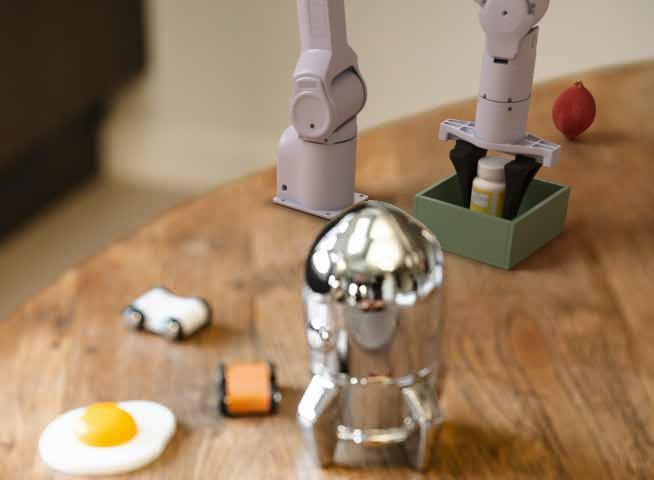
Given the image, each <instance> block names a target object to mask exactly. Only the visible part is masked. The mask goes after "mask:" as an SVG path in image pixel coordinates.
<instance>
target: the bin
mask: <svg viewBox="0 0 654 480" xmlns="http://www.w3.org/2000/svg"><path fill="white" fill-rule="evenodd" d="M571 188H572V186H570V185H566V184H563V183H559V182H555V181H553V180H547V179H544V178H540V177H537V176H535V177H534V178H533V180H532V182H531V183H530V185H529V187H528V189H527V191H526V193H525V195H524V197H523V200H522V202H521V205H520V207H519V210H518V213H517V216H516V217H515V218H513V219H512V220H510V221H509V220H506V219H502V218H499V217H495V216H492V215H488V214H485V213H481V212H478V211H474V210H471V209H467V208H464V206H463V199H462V192H461V187H460V183H459V179H458V176H457V173H456V170H455V171H453V172H452V173H450V174H448V175H447V176H445V177H443V178H442V179H440V180H438V181H436V182H434V183H433V184H431V185H429V186H428V187H426V188H424V189H423V190H421V191H419V192H418V193H416V194H414V195H413V201H412V202H413V203H412V214H411V215H412V216H411V218H412V217H414V218H415V219H417V220H418V221H420V222H421V223H423V224H424V225H425V226H426V227H427V228H428V229H430V231H431V232H432V233H433V234H434V235H435V236H436V238H437V240H438V241H439V243H440V246H441V248H442V250H441V251H444V252H448V253H450V254H454V255H457V256H460V257H464V258H467V259H469V260H472V261H473V260H474V261H477V262H480V263H483V264H486V265H490V266H493V267H496V268H499V269H502V270H505V271H510V270H511V269H512V268H514V267H515V266H516V265H518V264H519V263H521V262H522V261H524V260H525V259H526V258H528V257H529V256H531V255H533V253H534V252H536V251H538V250H539V249H540V248H542V247H543V246H545V245H546V244H548V243H549V242H551V241H552V240H553V239H554V238H556V237H557V236H559V235H560V234H562V233H563V232H564V231H565V225H566V219H567V213H568V207H569V201H570V195H571Z"/></svg>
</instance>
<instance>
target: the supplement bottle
mask: <svg viewBox="0 0 654 480" xmlns="http://www.w3.org/2000/svg"><path fill="white" fill-rule="evenodd" d="M512 160H513V159H512V158H510V157H507V156H503V155H496V154H495V155H486V156H485V157H482V158H481V159H480V160H479V161H478V168H477V174H478V175H476V176H475V178H474V180H473V184H472V195H471V205H470V209H471V210H474V211H478V212H481V213H485V214H488V215H492V216H495V217H499V218H502V219H503V209H504V202H505V194H506V182H505V172H504V165H505V164H507V163H509V162H510V161H512Z"/></svg>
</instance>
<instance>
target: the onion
mask: <svg viewBox="0 0 654 480" xmlns="http://www.w3.org/2000/svg"><path fill="white" fill-rule="evenodd" d="M596 105H597V104H596V101H595V97H594V95H593V94H592V92H591V91H590V90H589V89H588V88H587V87H585V86H584V84H583V80H581V79H577V80H575V81H574V83H573V85H571V86H569V87H567V88H566V89H564V90H563V91H562V92H561V93H560V94H559V96H558V97H556V99H555V101H554V103H553V105H552V109H551V118H552V122H553V125H554V127H555V128H556V129H557V130H558V131H559V132H560V134H562V135H563V137H564V138H565V139H567V140H574V139H575V138H576V137H578V136H580V135H581V134H583V133H585V132H586V131H587V130H588V129H590V128H591V126H592V124H593V123H594V121H595V119H596V116H597V106H596Z"/></svg>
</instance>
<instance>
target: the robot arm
mask: <svg viewBox="0 0 654 480" xmlns="http://www.w3.org/2000/svg"><path fill="white" fill-rule="evenodd" d="M550 1H551V0H473V2H474V3H475V4H477V5H478V6H479V7H480V8H478V14H477V15H478V21H479V25H480V27H481V30H482V31H483V32H484V43H483V50H482V54H481V56H482V57H481V66H480V75H479V84H478V93H477V101H476V102H477V103H476V110H475V111H476V112H475V121H470V120H469V121H468V120H461V119H460V120H459V119H455V118H447V119H446V120H444V121H442V122H440V123H439V132H438V140H439V141H443V142H449V141H453V142H455V144H454V146H453V148H452V149H450V150H449V155H448V157H449V160H450V161H451V163H452V165H453V167H454V170H455V171H456V173H457V176H458V179H459V183H460V187H461V192H462V199H463V206H464V208H467V209H470V205H471V195H472V184H473V180H474V178H475V176H476V175H478V174H477V168H478V161H479V160H480V159H481V158H482V157H485V156H487V154H488V151H492V152H497V153H500V154H504V155H508V156H512V157H514V159H511V160H512V161H510V162H509V163H507V164H505V165H504V172H505V182H506V194H505V202H504V209H503V219H506V220H509V221H510V220H512V219H513V218H515V217H516V216H517V213H518V210H519V207H520V205H521V202H522V200H523V197H524V195H525V193H526V191H527V189H528V187H529V185H530V183H531V182H532V180H533V178H534V177H536V175H537V173H538V172H539V171H540V169H541V168H542V166H543V167H544V168H549V169H551V168H552V167H555V166H556V165H557V164H559V163H560V159H561V152H562V145H560V144H556V143H553V142H550V141H549V140H547V139H543V138H541V137H539V136H537V135H534V134H533V133H530V132H529V131H527V127H528V119H529V111H530V103H531V97H532V90H533V82H534V75H535V68H536V60H537V46H538V38H539V31H540V26H539V25H537V24H538V23H539V22H540V21H542V19H543V17H544V16H545V15H546V13H547V11H548V9H549V6H550ZM295 3H296V11H297V20H298V21H297V22H298V32H299V41H300V51H301V52H300V55H299V58H298V60H297V63H296V66H295V68H294V70H293V73H292V77H291V78H292V94H291V96H290V100H289V104H288V117H289V121H290V123H291V124H290V125H289V126H288V127H287V128H286V129H284V131H283V132H282V134H281V136H280V139H279V142H278V145H277V150H276V151H277V152H276V196H274V197H273V198H272V202H273V203H274V204H277V205H282V206H285V207H288V208H291V209H294V210H297V211H300V212H304V213H306V214H307V213H308V214H310V215H314V216H317V217H320V218H323V219H327V220H330V219H332V218H333V217H335V216H336V215H337V214H339V213H340V212H342V211H343V210H345V209H346V208H348V207H349V206H351V205H353V204H356V203H358V202H361V201H365V200H367V201H369V196H368V195H365V194H362V193H360V192H356V174H357V173H356V172H357V171H356V168H357V146H358V145H357V144H358V123H357V121H358V115H359V114H360V113H361V112H362V111H363V110H364V108H365V106H366V103H367V101H368V87H367V83H366V81H365V78H364V77H363V75H362V73H361V70H360V67H359V62H358V61H359V60H358V59H359V58H358V55H357V53H356V51H355V50H354V49H353V48H352V47H351V45H350V44H349V43H348V34H347V22H346V9H345V0H296V1H295ZM330 221H331V220H330Z"/></svg>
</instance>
